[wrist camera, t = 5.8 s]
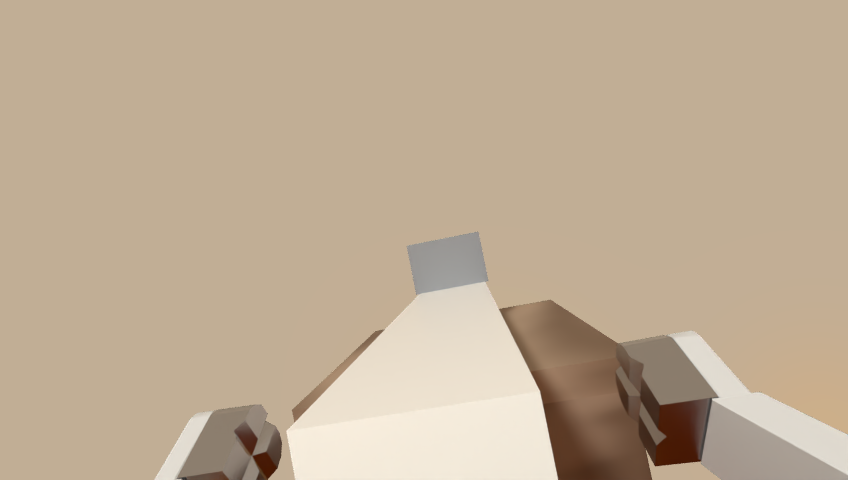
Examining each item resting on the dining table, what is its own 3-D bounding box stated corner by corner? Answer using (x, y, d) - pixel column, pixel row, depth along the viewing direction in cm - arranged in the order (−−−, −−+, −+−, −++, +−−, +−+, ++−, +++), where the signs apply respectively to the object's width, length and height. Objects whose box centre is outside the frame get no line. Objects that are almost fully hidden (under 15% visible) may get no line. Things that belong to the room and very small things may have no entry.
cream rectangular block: (492, 311, 28) (476, 233, 28) (588, 559, 6) (513, 191, 6) (430, 322, 28) (415, 245, 28) (303, 591, 6) (241, 248, 6)
